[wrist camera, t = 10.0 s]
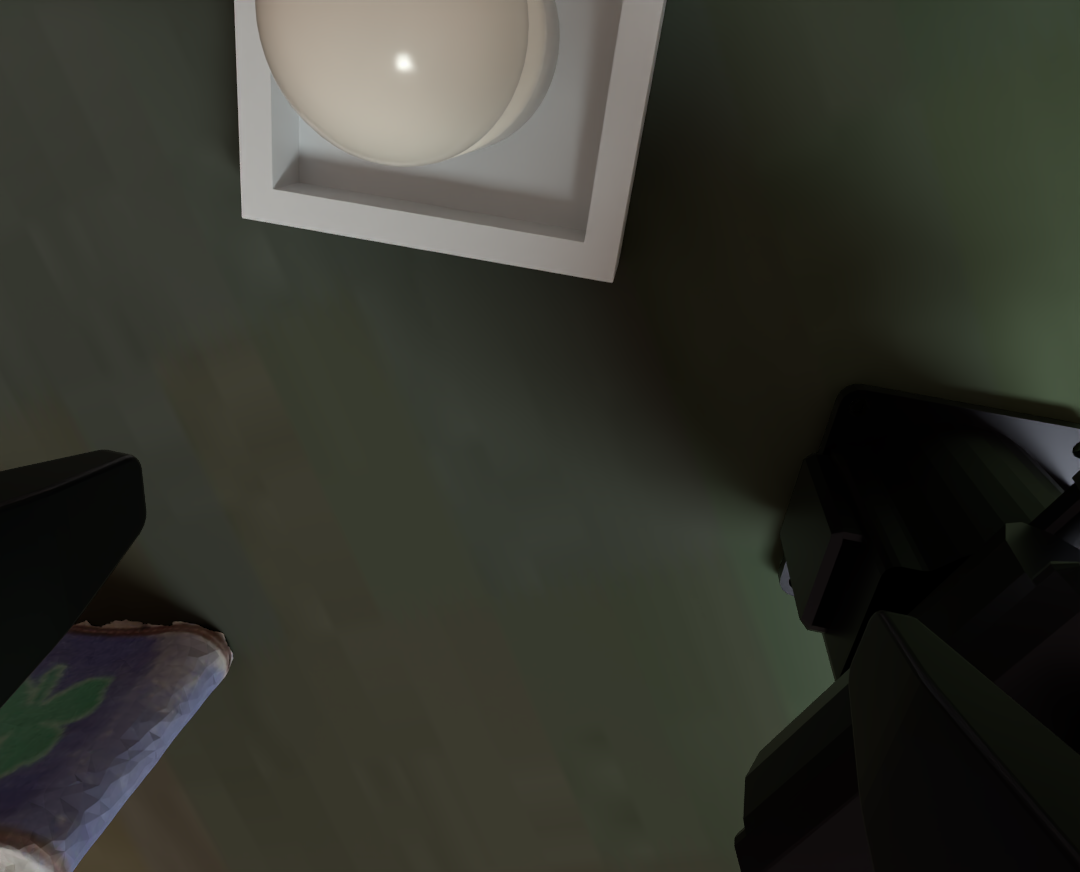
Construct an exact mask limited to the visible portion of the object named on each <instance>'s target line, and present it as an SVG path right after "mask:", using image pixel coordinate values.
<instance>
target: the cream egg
mask: <svg viewBox="0 0 1080 872" xmlns="http://www.w3.org/2000/svg"><path fill="white" fill-rule="evenodd" d="M255 9H256V21H257V27H258V32H259V37H260V41H261V45H262V48H263V51H264V55H265V58H266V61H267V63H268V65H269V68H270V70H271V73H272V75H273V77H274V79H275V81H276V83H277V85H278V86H279V88H280V90H281V92H282V93H283V95H284V96H285V98H286V99H287V101H288V102H289V104H290V105H291V106H292V108H293V109H294V110H295V111H296V112H297V114H298V115H299V116H300V117H301V118H302V119H303V120H304V121H305V122H306V123H307V124H308V125H309V126H310V127H311V128H312V129H313V130H314V131H315V132H317V133H318V134H319V135H320V136H321V137H323V138H324V139H325V140H327V141H328V142H330V143H331V144H332V145H334V146H335V147H337V148H339V149H341V150H343V151H345V152H346V153H348V154H350V155H353V156H356V157H358V158H361V159H363V160H366V161H369V162H373V163H377V164H381V165H386V166H396V167H411V166H423V165H429V164H434V163H438V162H441V161H444V160H447V159H451V158H454V157H457V156H460V155H463V154H466V153H469V152H472V151H475V150H478V149H482V148H485V147H487V146H490V145H493V144H496V143H498V142H500V141H502V140H504V139H506V138H508V137H509V136H510V135H512V134H513V133H515V132H516V131H517V130H519V129H520V128H521V127H522V126H523V125H524V124H525V123H526V122H527V121H528V120H529V119H530V118H531V117H532V115H533V114H534V113H535V112H536V110H537V109H538V108H539V106H540V104H541V103H542V101H543V99H544V98H545V96H546V94H547V91H548V89H549V87H550V85H551V82H552V79H553V76H554V73H555V70H556V65H557V60H558V55H559V42H560V31H559V18H558V12H557V6H556V2H555V0H255Z"/></svg>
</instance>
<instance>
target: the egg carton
mask: <svg viewBox="0 0 1080 872" xmlns="http://www.w3.org/2000/svg"><path fill="white" fill-rule="evenodd" d="M666 1H667V0H555V2H556V6H557V12H558V18H559V31H560V42H559V55H558V60H557V65H556V70H555V73H554V76H553V79H552V82H551V85H550V87H549V89H548V91H547V94H546V96H545V98H544V99H543V101H542V103H541V104H540V106H539V108H538V109H537V110H536V112H535V113H534V114H533V115H532V117H531V118H530V119H529V120H528V121H527V122H526V123H525V124H524V125H523V126H522V127H521V128H520V129H519V130H517V131H516V132H515V133H513V134H512V135H510V136H509V137H508V138H506V139H504V140H502V141H500V142H498V143H496V144H493V145H490V146H487V147H485V148H482V149H478V150H475V151H472V152H469V153H466V154H463V155H460V156H457V157H454V158H451V159H447V160H444V161H441V162H438V163H434V164H429V165H423V166H411V167H396V166H386V165H381V164H377V163H373V162H369V161H366V160H363V159H361V158H358V157H356V156H353V155H350V154H348V153H346V152H345V151H343V150H341V149H339V148H337V147H335V146H334V145H332V144H331V143H330V142H328V141H327V140H325V139H324V138H323V137H321V136H320V135H319V134H318V133H317V132H315V131H314V130H313V129H312V128H311V127H310V126H309V125H308V124H307V123H306V122H305V121H304V120H303V119H302V118H301V117H300V116H299V115H298V114H297V112H296V111H295V110H294V109H293V108H292V106H291V105H290V104H289V102H288V101H287V99H286V98H285V96H284V95H283V93H282V92H281V90H280V88H279V86H278V85H277V83H276V81H275V79H274V77H273V75H272V73H271V70H270V68H269V65H268V63H267V61H266V58H265V55H264V51H263V48H262V45H261V41H260V37H259V32H258V27H257V21H256V9H255V0H234V11H235V38H236V66H237V93H238V121H239V148H240V176H241V204H242V218H246V219H251V220H257V221H263V222H268V223H274V224H280V225H285V226H291V227H297V228H303V229H308V230H314V231H320V232H325V233H331V234H337V235H342V236H348V237H354V238H359V239H365V240H371V241H377V242H382V243H388V244H394V245H399V246H405V247H411V248H416V249H422V250H428V251H433V252H439V253H445V254H450V255H456V256H462V257H468V258H473V259H479V260H485V261H490V262H496V263H502V264H507V265H513V266H519V267H524V268H530V269H536V270H542V271H547V272H553V273H559V274H564V275H570V276H576V277H581V278H587V279H593V280H598V281H604V282H610V283H613V280H614V277H615V274H616V271H617V267H618V264H619V258H620V253H621V247H622V242H623V236H624V231H625V225H626V220H627V215H628V209H629V204H630V198H631V193H632V187H633V182H634V176H635V171H636V165H637V160H638V154H639V149H640V143H641V138H642V132H643V127H644V121H645V116H646V110H647V105H648V99H649V94H650V89H651V83H652V78H653V72H654V67H655V61H656V56H657V50H658V45H659V39H660V34H661V28H662V23H663V17H664V12H665V6H666Z"/></svg>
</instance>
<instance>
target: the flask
mask: <svg viewBox="0 0 1080 872" xmlns="http://www.w3.org/2000/svg"><path fill="white" fill-rule="evenodd" d="M110 623H111V624H106V625H104V626H102V627H99V626H98V627H96V626H91V624H90V623H89V622H88V621H87V620H86V621H85V622H81V623H79V624H76V625H73V626H72V627H71V629H70V630H69V631H68V632H67V633H66V635H65V636H64V637H63V638H62V639H61V640H60V642H59V643H58V644H57V645H56V646H55V647H54V649H53V650H52V651H51V652H50V653H49V654H48V655H47V656H46V658H45V659H44V660H43V661H42V662H41V663H40V664H39V666H38V667H37V668H36V669H35V670H34V671H33V672H32V673H31V675H30V676H29V677H28V678H27V679H26V680H25V681H24V683H23V684H22V685H21V686H20V687H19V688H18V689H17V690H16V692H15V693H14V694H13V695H12V696H11V697H10V698H9V699H8V701H7V702H6V703H5V704H4V705H3V706H2V707H1V709H0V872H73V870H74V869H75V868H76V866H77V865H78V863H79V862H80V861H81V859H82V858H83V857H84V855H85V854H86V853H87V851H88V850H89V849H90V847H91V846H92V845H93V844H94V842H95V841H96V840H97V839H98V837H99V836H100V835H101V834H102V832H103V831H104V830H105V829H106V827H107V826H108V825H109V823H110V822H111V821H112V819H113V818H114V817H115V815H116V814H117V812H118V811H119V810H120V808H121V807H122V806H123V804H124V803H125V802H126V800H127V799H128V798H129V797H130V795H131V794H132V793H133V792H134V791H135V789H136V788H137V787H138V786H139V784H140V783H141V782H142V781H143V779H144V778H145V777H146V776H147V774H148V773H149V772H150V771H151V769H152V768H153V767H154V766H155V764H156V763H157V762H158V761H159V759H160V758H161V756H162V755H163V753H164V752H165V751H166V749H167V748H168V746H169V745H170V744H171V742H172V741H173V740H174V738H175V737H176V736H177V735H178V733H179V732H180V731H181V730H182V728H183V727H184V726H185V725H186V724H187V722H188V721H189V720H190V719H191V718H192V716H193V715H194V714H195V713H196V712H197V710H198V709H199V708H200V706H201V705H202V704H203V702H204V701H205V700H206V699H207V697H208V696H209V695H210V694H211V692H212V691H213V690H214V689H215V688H216V687H217V686H218V684H219V683H220V682H221V681H222V680H223V678H224V677H225V676H226V674H227V673H228V671H229V667H230V665H231V662H232V660H233V653H232V651H231V650H230V647H227V642H226V641H225V637H224V635H225V634H223V633H221V632H216V631H215V632H213V631H210V630H208V629H206V628H203V627H201V626H200V625H197V624H189V623H187V622H186V623H184V622H181V621H179V622H177V621H174V622H173V625H171V626H169V625H168V626H169V627H168V626H163V625H151V624H149V623H148V624H143V623H142V622H132V621H128V620H127V619H126V620H124V621H117V620H115V621H114V622H111V621H110ZM229 656H230V665H229ZM228 665H229V666H228Z"/></svg>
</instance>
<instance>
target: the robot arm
mask: <svg viewBox="0 0 1080 872" xmlns="http://www.w3.org/2000/svg"><path fill="white" fill-rule="evenodd" d="M856 399H864V400H866V405H865V406H864V408H863V409H861V410H859V411H851V410H849V405H850V404H851V402H852V401H854V400H856ZM1078 442H1080V424H1077V423H1072V422H1066V421H1061V420H1055V419H1050V418H1044V417H1039V416H1033V415H1028V414H1022V413H1017V412H1011V411H1006V410H1000V409H995V408H989V407H984V406H978V405H973V404H967V403H962V402H956V401H951V400H945V399H940V398H934V397H929V396H923V395H918V394H912V393H907V392H901V391H896V390H890V389H885V388H880V387H874V386H869V385H863V384H854V385H851V386H848V387H846V388H845V389H843V390H842V391H841V392H840V393H839V395H838V397H837V398H836V401H835V404H834V407H833V410H832V413H831V416H830V419H829V422H828V425H827V428H826V431H825V434H824V437H823V440H822V443H821V446H820V449H819V452H818V453H813V454H811V455H810V456H808V457H807V458H805V459H804V461H803V464H802V467H801V470H800V473H799V476H798V479H797V482H796V485H795V488H794V491H793V494H792V497H791V500H790V503H789V506H788V509H787V512H786V516H785V519H784V522H783V525H782V528H781V531H780V538H781V542H782V546H783V550H784V556H783V559H782V562H781V565H780V568H779V573H778V577H779V582H780V585H781V588H782V590H784V591H785V592H786V593H787V594H790V595H792V596H794V597H795V601H796V606H797V610H798V614H799V618H800V620H801V622H802V623H803V624H804V626H805V627H806V629H807V630H810V631H815V632H820V633H822V635H823V638H824V642H825V646H826V650H827V653H828V657H829V661H830V664H831V668H832V672H833V675H834V679H835V682H834V683H833V684H832V685H831V686H830V687H829V688H828V689H827V690H826V691H825V692H824V693H822V694H821V695H820V696H819V697H818V698H817V699H816V700H815V701H814V702H813V703H812V704H811V705H809V706H808V707H807V708H806V709H805V710H804V711H803V712H802V713H801V714H800V715H799V716H798V717H797V718H795V719H794V720H793V721H792V722H791V723H790V724H789V725H788V726H787V727H786V728H785V729H784V730H783V731H781V732H780V733H779V734H778V735H777V736H776V737H775V738H774V739H773V740H772V741H771V742H770V743H769V744H767V745H766V746H765V747H764V748H763V749H762V750H761V751H760V752H759V754H758V756H757V758H756V759H755V761H754V763H753V765H752V767H751V768H750V770H749V772H748V774H747V776H746V777H745V796H744V817H743V820H744V826H745V827H744V828H743V829H742V830H741V831H740V832H738V834H737V835H736V837H735V845H734V846H735V850H736V854H737V858H738V862H739V865H740V869H741V872H1080V451H1077V452H1072V450H1073V447H1074V446H1075V445H1076V443H1078ZM145 520H146V503H145V494H144V485H143V476H142V468H141V464H140V462H139V460H138V459H137V458H136V457H134V456H133V455H129V454H125V453H120V452H115V451H110V450H97V451H93V452H88V453H83V454H79V455H74V456H69V457H65V458H60V459H56V460H51V461H46V462H42V463H37V464H32V465H28V466H23V467H19V468H14V469H9V470H5V471H0V709H1V707H2V706H3V705H4V704H5V703H6V702H7V701H8V699H9V698H10V697H11V696H12V695H13V694H14V693H15V692H16V690H17V689H18V688H19V687H20V686H21V685H22V684H23V683H24V681H25V680H26V679H27V678H28V677H29V676H30V675H31V673H32V672H33V671H34V670H35V669H36V668H37V667H38V666H39V664H40V663H41V662H42V661H43V660H44V659H45V658H46V656H47V655H48V654H49V653H50V652H51V651H52V650H53V649H54V647H55V646H56V645H57V644H58V643H59V642H60V640H61V639H62V638H63V637H64V636H65V635H66V633H67V632H68V631H69V630H70V629H71V627H72V626H73V625H74V623H75V622H76V621H77V619H78V618H79V617H80V616H81V614H82V613H83V612H84V610H85V609H86V608H87V606H88V605H89V603H90V602H91V601H92V599H93V598H94V596H95V595H96V594H97V592H98V591H99V589H100V588H101V587H102V585H103V584H104V583H105V581H106V580H107V578H108V577H109V576H110V574H111V573H112V571H113V570H114V569H115V567H116V566H117V564H118V563H119V562H120V560H121V559H122V557H123V556H124V555H125V553H126V552H127V551H128V549H129V548H130V546H131V545H132V544H133V542H134V541H135V539H136V538H137V537H138V535H139V534H140V532H141V530H142V528H143V526H144V523H145Z"/></svg>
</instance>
